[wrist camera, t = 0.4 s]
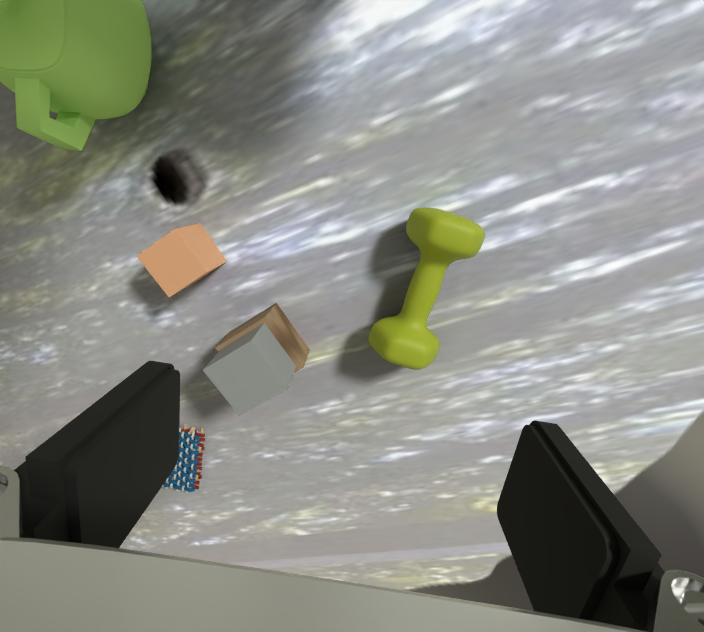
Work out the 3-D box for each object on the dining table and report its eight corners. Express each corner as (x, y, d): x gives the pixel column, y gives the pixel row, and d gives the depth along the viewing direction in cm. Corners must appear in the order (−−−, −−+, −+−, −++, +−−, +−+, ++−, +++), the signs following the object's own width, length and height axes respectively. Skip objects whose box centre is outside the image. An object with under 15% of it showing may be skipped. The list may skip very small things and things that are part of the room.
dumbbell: (426, 354, 48) (435, 383, 41) (363, 335, 47) (362, 360, 40) (481, 222, 42) (502, 230, 36) (411, 199, 42) (419, 202, 35)
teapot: (12, -90, 35) (-169, -228, 24) (160, -81, 35) (52, -215, 23) (51, 150, 42) (-75, 137, 30) (176, 159, 42) (98, 150, 30)
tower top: (220, 349, 43) (202, 370, 38) (264, 322, 42) (251, 340, 37) (253, 391, 45) (239, 415, 40) (296, 366, 43) (287, 389, 39)
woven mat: (202, 486, 56) (196, 497, 54) (128, 471, 56) (120, 481, 54) (209, 426, 53) (203, 435, 51) (131, 409, 53) (122, 418, 51)
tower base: (230, 331, 48) (214, 347, 43) (276, 302, 46) (266, 316, 42) (264, 375, 50) (253, 396, 45) (309, 349, 48) (303, 367, 43)
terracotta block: (166, 246, 45) (136, 256, 39) (199, 223, 44) (174, 229, 38) (193, 283, 46) (168, 297, 40) (227, 261, 45) (206, 272, 39)
